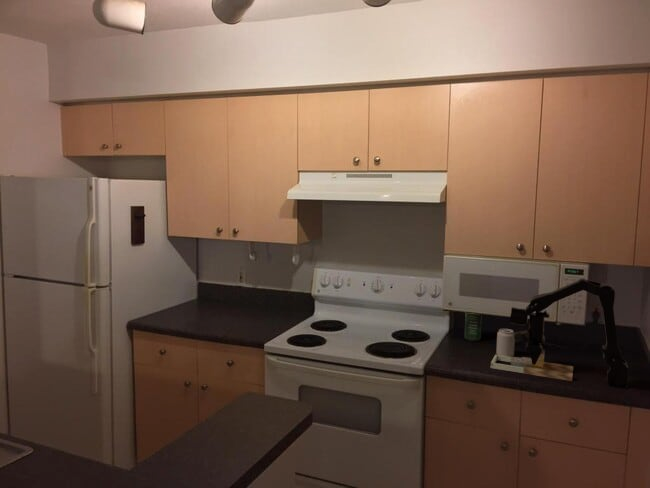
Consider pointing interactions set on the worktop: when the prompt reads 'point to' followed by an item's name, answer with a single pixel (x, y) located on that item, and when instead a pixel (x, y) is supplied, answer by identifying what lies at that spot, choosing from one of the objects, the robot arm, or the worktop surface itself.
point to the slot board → (552, 371)
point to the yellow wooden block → (539, 361)
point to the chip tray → (505, 367)
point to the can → (505, 342)
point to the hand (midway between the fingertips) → (534, 362)
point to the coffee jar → (473, 326)
